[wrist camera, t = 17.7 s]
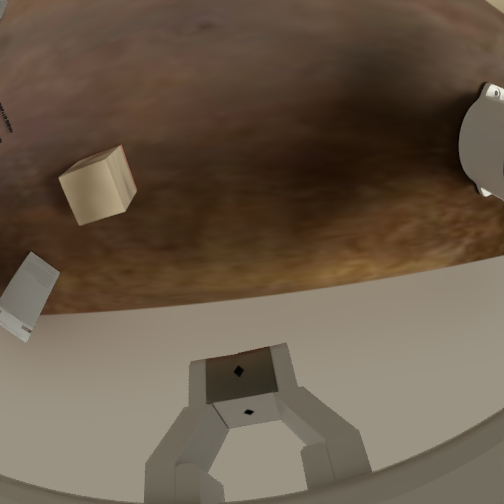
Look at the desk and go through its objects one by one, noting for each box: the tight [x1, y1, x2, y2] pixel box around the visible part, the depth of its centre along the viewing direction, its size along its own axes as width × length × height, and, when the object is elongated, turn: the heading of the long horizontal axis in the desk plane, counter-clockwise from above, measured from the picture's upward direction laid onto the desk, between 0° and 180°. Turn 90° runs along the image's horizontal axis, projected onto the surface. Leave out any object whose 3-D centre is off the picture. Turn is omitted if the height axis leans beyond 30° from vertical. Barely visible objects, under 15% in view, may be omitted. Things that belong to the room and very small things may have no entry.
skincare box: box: [0, 252, 60, 342], centre depth 35 cm, size 6×4×12 cm
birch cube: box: [59, 145, 137, 226], centre depth 31 cm, size 6×6×6 cm
